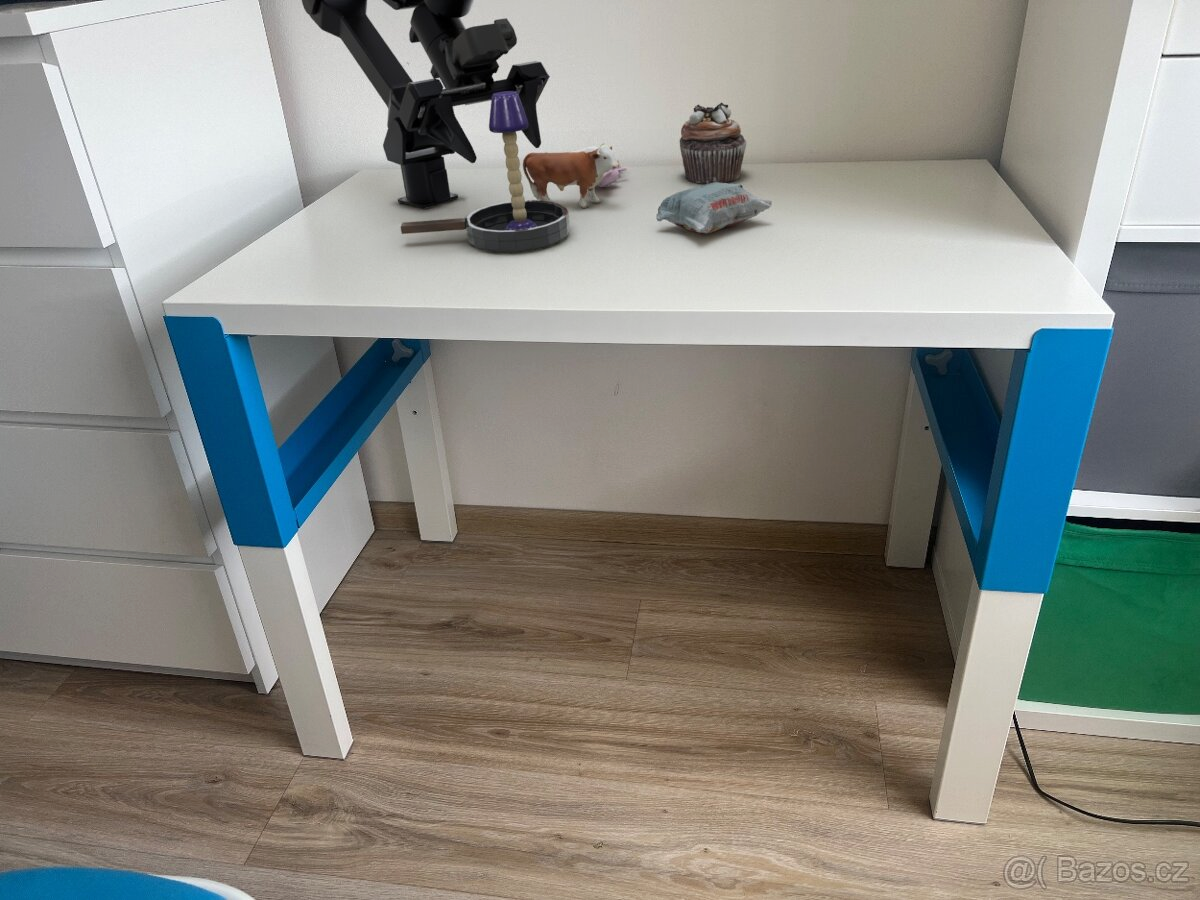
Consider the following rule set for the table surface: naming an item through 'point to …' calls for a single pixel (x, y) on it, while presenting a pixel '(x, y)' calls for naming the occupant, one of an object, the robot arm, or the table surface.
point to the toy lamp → (511, 150)
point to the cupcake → (712, 146)
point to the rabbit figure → (610, 175)
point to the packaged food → (711, 207)
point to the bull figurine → (569, 170)
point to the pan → (492, 236)
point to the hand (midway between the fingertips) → (507, 153)
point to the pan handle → (433, 226)
